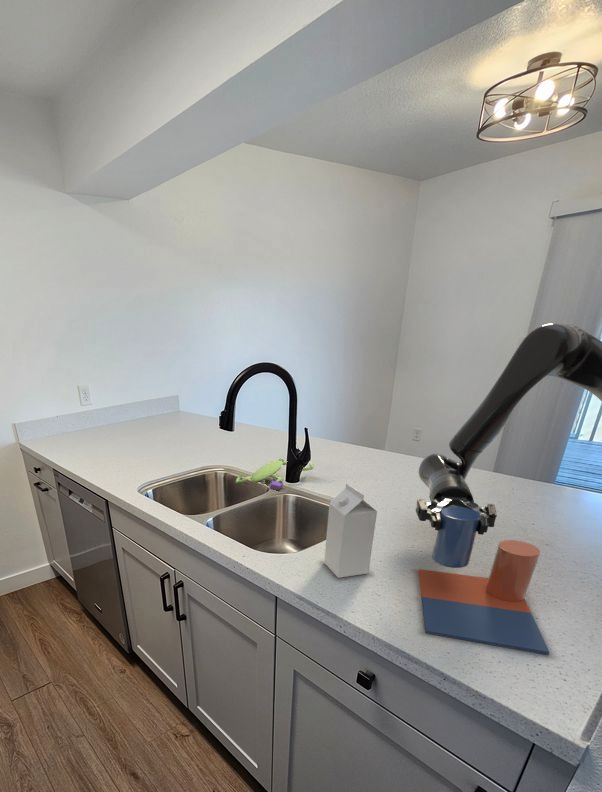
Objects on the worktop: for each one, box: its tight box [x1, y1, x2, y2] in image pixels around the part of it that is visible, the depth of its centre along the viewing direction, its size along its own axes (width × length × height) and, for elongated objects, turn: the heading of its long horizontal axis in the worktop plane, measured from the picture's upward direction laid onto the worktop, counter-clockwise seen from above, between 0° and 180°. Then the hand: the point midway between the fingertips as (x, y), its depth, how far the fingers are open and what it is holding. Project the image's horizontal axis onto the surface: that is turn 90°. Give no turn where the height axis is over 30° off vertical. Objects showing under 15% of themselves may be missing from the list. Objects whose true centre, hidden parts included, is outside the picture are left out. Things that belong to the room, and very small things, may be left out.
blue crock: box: [431, 507, 481, 569], centre depth 83 cm, size 6×6×10 cm
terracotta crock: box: [486, 539, 541, 602], centre depth 83 cm, size 6×6×10 cm
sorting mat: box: [418, 568, 550, 655], centre depth 82 cm, size 18×22×1 cm
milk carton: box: [323, 483, 378, 579], centre depth 93 cm, size 7×7×19 cm
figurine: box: [235, 458, 315, 491], centre depth 152 cm, size 18×27×6 cm
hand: (460, 527), depth 80 cm, fingers closed on blue crock, 6 cm apart
